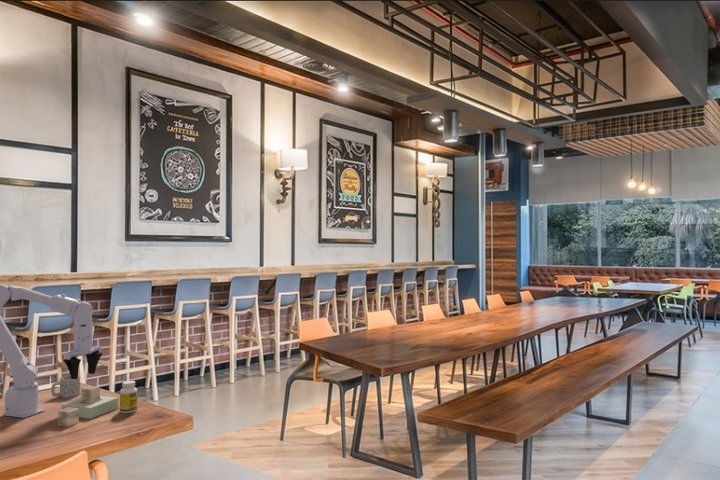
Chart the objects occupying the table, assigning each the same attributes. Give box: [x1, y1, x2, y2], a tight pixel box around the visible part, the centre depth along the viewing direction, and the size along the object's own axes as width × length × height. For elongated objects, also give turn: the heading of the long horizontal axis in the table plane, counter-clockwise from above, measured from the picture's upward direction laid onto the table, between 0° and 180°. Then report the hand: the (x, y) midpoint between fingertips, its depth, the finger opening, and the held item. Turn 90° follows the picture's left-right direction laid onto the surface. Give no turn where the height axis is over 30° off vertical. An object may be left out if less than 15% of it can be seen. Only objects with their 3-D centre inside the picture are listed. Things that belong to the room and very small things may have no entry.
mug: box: [50, 375, 81, 399], centre depth 197 cm, size 10×7×7 cm, turn 145°
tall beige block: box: [80, 385, 101, 404], centre depth 179 cm, size 4×4×8 cm
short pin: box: [57, 407, 80, 428], centre depth 167 cm, size 4×4×4 cm
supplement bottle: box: [119, 380, 138, 414], centre depth 179 cm, size 5×5×10 cm
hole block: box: [61, 395, 119, 420], centre depth 179 cm, size 12×12×4 cm
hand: (83, 376), depth 185 cm, fingers open, 7 cm apart
